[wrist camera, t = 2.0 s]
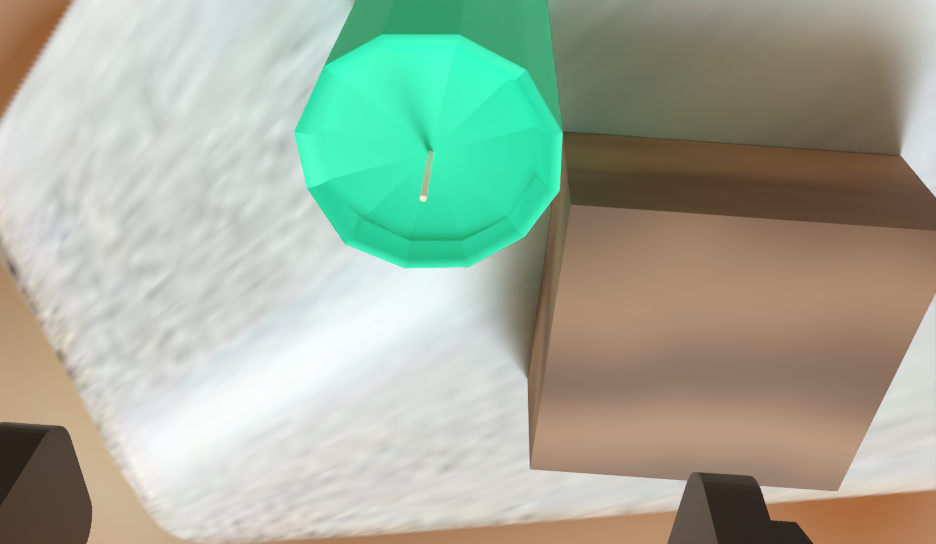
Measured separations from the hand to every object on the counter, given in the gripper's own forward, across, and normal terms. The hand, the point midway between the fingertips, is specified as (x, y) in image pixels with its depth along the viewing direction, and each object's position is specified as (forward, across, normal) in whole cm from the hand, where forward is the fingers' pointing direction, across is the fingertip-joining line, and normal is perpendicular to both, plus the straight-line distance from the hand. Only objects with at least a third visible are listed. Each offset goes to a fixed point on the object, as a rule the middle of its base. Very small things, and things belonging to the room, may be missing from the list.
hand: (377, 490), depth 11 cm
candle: (+20, 0, 0) cm, 20 cm away
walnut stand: (+20, -10, +10) cm, 24 cm away
